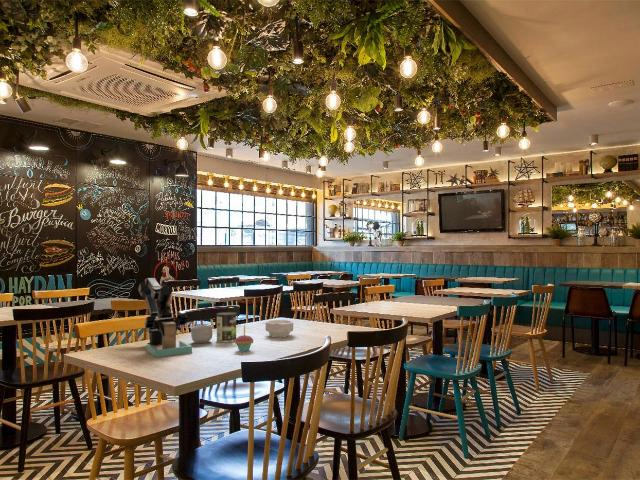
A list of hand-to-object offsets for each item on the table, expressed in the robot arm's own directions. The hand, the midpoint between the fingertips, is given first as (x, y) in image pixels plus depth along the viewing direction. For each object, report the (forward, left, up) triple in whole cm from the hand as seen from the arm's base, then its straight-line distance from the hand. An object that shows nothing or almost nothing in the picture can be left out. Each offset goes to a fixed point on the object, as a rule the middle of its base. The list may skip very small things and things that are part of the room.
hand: (169, 335), depth 220 cm
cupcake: (+30, +17, -8) cm, 35 cm away
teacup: (-2, +26, -8) cm, 28 cm away
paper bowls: (+26, +56, -8) cm, 62 cm away
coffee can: (+7, +34, -8) cm, 36 cm away
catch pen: (-1, +1, -8) cm, 8 cm away
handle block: (-1, +1, -7) cm, 7 cm away
